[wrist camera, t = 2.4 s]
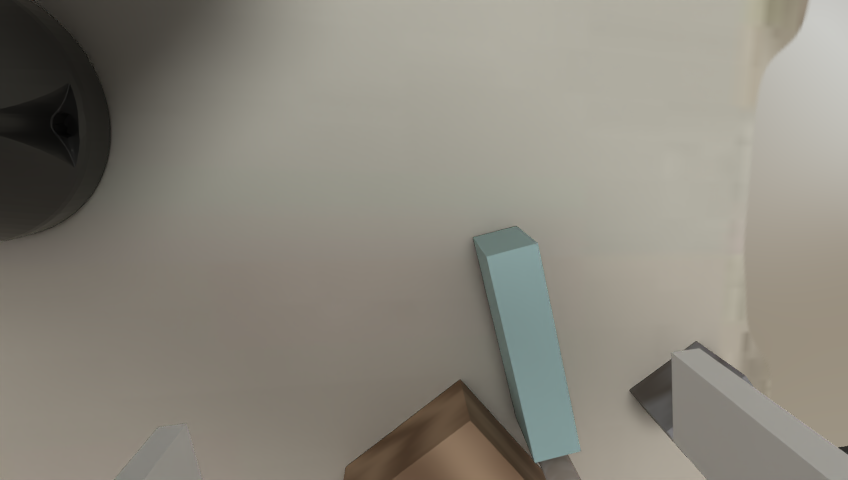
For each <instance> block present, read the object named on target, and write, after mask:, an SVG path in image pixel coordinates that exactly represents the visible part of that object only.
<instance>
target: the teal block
mask: <svg viewBox="0 0 848 480" xmlns="http://www.w3.org/2000/svg"><path fill="white" fill-rule="evenodd" d="M473 239H474V244H475V248H476V252H477V256H478V260H479V264H480V269H481V273H482V277H483V281H484V285H485V289H486V294H487V298H488V302H489V306H490V310H491V315H492V319H493V323H494V327H495V331H496V335H497V340H498V344H499V348H500V352H501V356H502V360H503V365H504V369H505V373H506V377H507V381H508V386H509V390H510V394H511V398H512V402H513V406H514V411H515V415H516V418H517V420H518V423H519V425H520V428H521V430H522V433H523V435H524V438H525V440H526V442H527V445H528V447H529V450H530V452H531V455H532V457H533V460H534V462H535V463H537V462H540V461H544V460H548V459H552V458H556V457H560V456H564V455H568V454H572V453H575V452H579V451H581V450H580V445H579V440H578V435H577V430H576V425H575V421H574V416H573V411H572V406H571V401H570V396H569V392H568V387H567V382H566V377H565V372H564V367H563V363H562V358H561V353H560V348H559V343H558V339H557V334H556V329H555V324H554V319H553V314H552V310H551V305H550V300H549V295H548V290H547V285H546V281H545V276H544V271H543V266H542V261H541V256H540V252H539V247H538V243H537V242H536V241H534V240H533V239H532V238H531V237H529V236H528V235H527V234H526V233H524V232H523V231H522V230H521V229H520V228H518V227H517V226H515V227H511V228H507V229H503V230H500V231H496V232H492V233H488V234H484V235H481V236H477V237H473Z"/></svg>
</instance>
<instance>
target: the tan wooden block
mask: <svg viewBox="0 0 848 480" xmlns="http://www.w3.org/2000/svg"><path fill="white" fill-rule="evenodd" d="M697 348H700V349H701V350H703V351H704V352H705V353H707V354H708V355H709V356H711V357H712V358H714V359H715V360H716V361H718V362H719V363H721V364H722V365H723V366H725V367H726V368H728V369H729V370H730V371H732V372H733V373H735V374H736V375H737V376H739V377H740V378H742V379H743V380H744V381H746V382H747V383H749V384H750V385H751V386H753V385H752V384H751V383H750V381H749V380H748V379H747V377H746V376H745V375H744V374H742V373H741V372H740V371H738V370H737V369H735V368H734V367H732V366H731V365H730V364H728V363H727V362H725V361H724V360H722V359H721V358H720V357H718V356H717V355H715V354H714V353H713V352H711V351H710V350H708V349H707V348H705V347H704V346H703V345H701V344H700V343H698V342H697V341H696V342H695V343H693V344H692V345H691V346H689V347H688V348H687V349H685V350H690V349H697ZM630 391H631V393H632V394H633V395H634V396H635V398H636V399H637V400H638V401H639V403H640V404H641V405H642V406H643V408H644V409H645V410H646V411H647V413H648V414H649V415H650V416H651V417H652V418H653V419H654V421H655V422H656V423H657V424H658V425H659V426H660V427H661V428H662V430H663V431H664V432H665V433H666V434H667V435H668V436H669V438H670V439H671V440H672V441H673V405H672V360H670V361H669V362H667V363H666V364H665V365H663V366H662V367H661V368H659V369H658V370H656V371H655V372H654V373H652V374H651V375H650V376H648V377H647V378H645V379H644V380H643V381H641V382H640V383H639V384H637V385H636V386H634V387H633V388H632V389H630ZM677 447H678V446H677ZM678 448H679V447H678ZM679 449H680V448H679ZM684 455H685V454H684ZM685 456H686V455H685ZM686 457H687V456H686ZM539 464H540V466H541V468H542V469H541V468H540V467H539V466H538V465H537V464H536V463H535V462H534V461H533V459H532V458H531V457H530V456H529V455H528V454H527V453H526V452H525V451H524V450H523V448H522V447H521V446H520V445H519V444H518V443H517V442H516V441H515V440H514V438H513V437H512V436H511V435H510V434H509V433H508V432H507V431H506V430H505V428H504V427H503V426H502V425H501V424H500V423H499V422H498V421H497V420H496V419H495V417H494V416H493V415H492V414H491V413H490V412H489V411H488V410H487V409H486V407H485V406H484V405H483V404H482V403H481V402H480V401H479V400H478V399H477V397H476V396H475V395H474V394H473V393H472V392H471V391H470V390H469V389H468V388H467V386H466V385H465V384H464V383H463V382H462V381H461V380H459V381H457V382H456V383H455V384H454V385H452V386H451V387H450V388H448V389H447V390H446V391H444V392H443V393H442V394H441V395H439V396H438V397H437V398H435V399H434V400H433V401H431V402H430V403H429V404H427V405H426V406H425V407H424V408H422V409H421V410H420V411H418V412H417V413H416V414H414V415H413V416H412V417H411V418H409V419H408V420H407V421H405V422H404V423H403V424H401V425H400V426H399V427H397V428H396V429H395V430H394V431H392V432H391V433H390V434H388V435H387V436H386V437H384V438H383V439H382V440H381V441H379V442H378V443H377V444H375V445H374V446H373V447H371V448H370V449H369V450H367V451H366V452H365V453H364V454H362V455H361V456H360V457H358V458H357V459H356V460H354V461H353V462H352V463H351V464H349V465H348V466H347V467H346V469H345V475H344V480H581V479H580V477H579V475H578V473H577V471H576V469H575V467H574V465H573V463H572V462H571V460H570V458H569V456H568V455H564V456H560V457H556V458H552V459H548V460H544V461H540V462H539Z"/></svg>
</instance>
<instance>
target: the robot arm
mask: <svg viewBox="0 0 848 480" xmlns="http://www.w3.org/2000/svg"><path fill="white" fill-rule="evenodd" d="M109 143H110V122H109V114H108V108H107V103H106V100H105V96H104V93H103V90H102V87H101V84H100V82H99V79H98V77H97V75H96V73H95V71H94V69H93V67H92V65H91V63H90V61H89V60H88V58H87V56H86V55H85V53H84V52H83V50H82V49H81V48H80V46H79V45H78V44H77V42H76V41H75V40H74V39H73V37H72V36H71V35H70V34H69V33H68V32H67V31H66V30H65V29H64V28H63V27H62V26H61V25H60V24H59V23H58V22H57V21H56V20H55V19H54V18H53V17H52V16H50V15H49V14H48V13H47V12H45V11H44V10H43V9H41V8H40V7H38V6H37V5H35V4H34V3H32V2H31V1H29V0H0V242H1V241H6V240H11V239H14V238H18V237H22V236H25V235H29V234H33V233H36V232H40V231H43V230H45V229H48V228H50V227H52V226H55V225H57V224H58V223H60V222H62V221H64V220H65V219H67V218H68V217H69V216H71V215H72V214H73V213H75V212H76V211H77V210H78V209H79V208H80V207H81V206H82V205H83V204H84V203H85V202H86V201H87V199H88V198H89V197H90V195H91V194H92V193H93V191H94V190H95V188H96V186H97V184H98V182H99V180H100V178H101V176H102V174H103V171H104V168H105V165H106V161H107V157H108V152H109ZM671 356H672V405H673V442H674V443H675V444H676V445H677V446H678V447H679V448H680V450H681V451H682V452H683V453H684V454H685V455H686V456H687V458H688V459H689V460H690V461H691V462H692V463H693V464H694V465H695V467H696V468H697V469H698V470H699V471H700V472H701V473H702V474H703V476H704V477H705V478H706V479H707V480H848V446H845V447H836V446H835V445H834V444H832V443H831V442H829V441H828V440H827V439H825V438H824V437H822V436H821V435H819V434H818V433H817V432H815V431H814V430H813V429H811V428H810V427H808V426H807V425H806V424H804V423H803V422H801V421H800V420H799V419H797V418H796V417H795V416H793V415H792V414H790V413H789V412H788V411H786V410H785V409H783V408H782V407H781V406H779V405H778V404H776V403H775V402H774V401H772V400H771V399H769V398H768V397H767V396H765V395H764V394H762V393H761V392H760V391H758V390H757V389H756V388H754V387H753V386H751V385H750V384H749V383H747V382H746V381H744V380H743V379H742V378H740V377H739V376H737V375H736V374H735V373H733V372H732V371H730V370H729V369H728V368H726V367H725V366H723V365H722V364H721V363H719V362H718V361H716V360H715V359H714V358H712V357H711V356H709V355H708V354H707V353H705V352H704V351H703V350H701V349H700V348H697V349H690V350H684V351H677V352H671ZM114 480H202V476H201V473H200V469H199V465H198V462H197V458H196V455H195V451H194V447H193V444H192V440H191V437H190V433H189V429H188V426H187V423H184V424H177V425H170V426H163V427H158V428H157V429H156V430H155V431H154V433H153V434H152V435H151V436H150V437H149V439H148V440H147V441H146V442H145V443H144V445H143V446H142V447H141V448H140V449H139V450H138V452H137V453H136V454H135V455H134V456H133V458H132V459H131V460H130V461H129V462H128V464H127V465H126V466H125V467H124V468H123V469H122V471H121V472H120V473H119V474H118V475H117V477H116V478H115V479H114Z"/></svg>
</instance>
